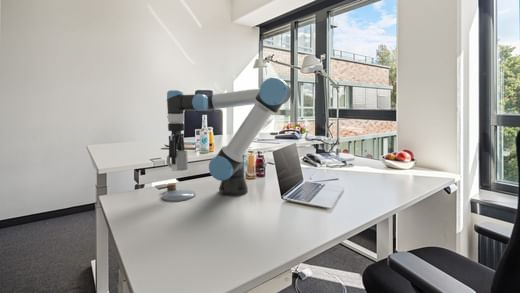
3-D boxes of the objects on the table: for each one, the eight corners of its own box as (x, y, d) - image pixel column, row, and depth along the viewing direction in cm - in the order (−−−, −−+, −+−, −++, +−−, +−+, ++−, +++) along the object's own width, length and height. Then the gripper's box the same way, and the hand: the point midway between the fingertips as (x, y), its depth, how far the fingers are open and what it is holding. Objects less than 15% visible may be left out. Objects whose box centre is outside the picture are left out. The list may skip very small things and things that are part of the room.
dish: (199, 192, 150) (199, 189, 150) (189, 201, 134) (188, 199, 134) (170, 191, 151) (169, 189, 151) (156, 200, 135) (156, 198, 135)
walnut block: (176, 190, 154) (175, 183, 153) (175, 192, 150) (174, 185, 149) (168, 190, 153) (168, 183, 152) (167, 192, 149) (167, 185, 148)
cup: (188, 170, 139) (188, 152, 138) (167, 171, 135) (166, 153, 134) (186, 167, 145) (186, 150, 144) (166, 168, 142) (165, 151, 141)
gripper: (176, 121, 148) (178, 164, 151) (159, 123, 128) (161, 173, 131) (190, 121, 147) (191, 165, 150) (175, 123, 128) (177, 173, 131)
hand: (177, 168), depth 141 cm, fingers closed on cup, 7 cm apart
